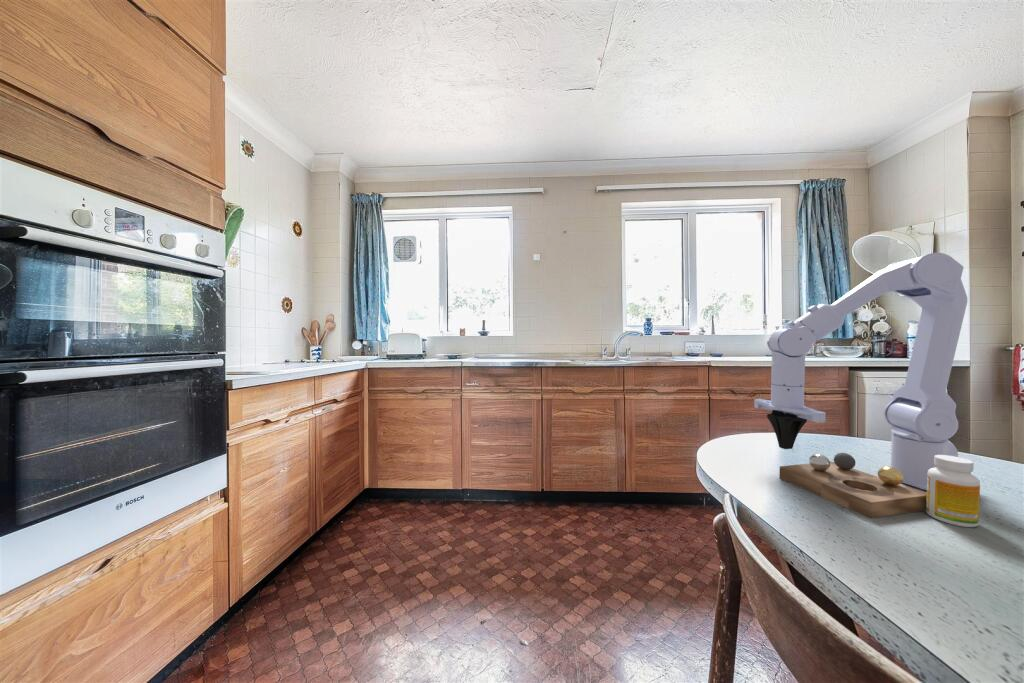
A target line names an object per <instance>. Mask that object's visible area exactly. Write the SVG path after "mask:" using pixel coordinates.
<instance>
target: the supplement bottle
mask: <svg viewBox="0 0 1024 683" xmlns="http://www.w3.org/2000/svg"><path fill="white" fill-rule="evenodd" d="M934 464H935V465H936V467H935V468H931V469H929V470H928V473H927V490H926V493H927V498H926V510H925V511H926V512H925V513H926V514H927V515H928V516H930V517H931V518H933V519H935V520H938V521H941V522H943V523H947V524H950V525H953V526H957V527H963V528H976V527H978V526H979V522H980V500H981V499H980V498H981V496H980V492H981V481H980V479H979V478H978V477H977V476H976V475H974V474H973V472H974V469H975V468H974V461H973V460H970V459H967V458H963V457H959V456H958V457H955V456H948V455H935V456H934Z"/></svg>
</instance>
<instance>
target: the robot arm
mask: <svg viewBox="0 0 1024 683" xmlns="http://www.w3.org/2000/svg"><path fill="white" fill-rule="evenodd" d="M964 269H965V268H964V265H962V264H961V263H960V262H958V261H957V260H955V259H954V258H953V257H952V256H950V255H949V254H946V253H944V252H943V253H942V252H931V253H927V254H924V255H921V256H917V257H913V258H910V259H906V260H905V259H904V260H898V261H895V262H892V263H891V264H889V265H888V266H886V267H885V268H881V269H879V270H877V271H876V272H875V273H873V274H872V275H871V276H869V277H868V278H866V279H864V281H862V282H860V284H858V285H856V286H855V287H854V288H853V289H851V290H849V291H848V292H847V293H845V294H844V295H843V296H841V297H840V298H838V299H836V300H835V301H834V302H833V303H832V304H826V303H820V304H817V305H811V306H810V307H808V308H807V311H808V312H805V313H804V314H803V315H801V316H800V317H798V318H796V319H795V320H794V321H793V320H790V321H788V322H786V327H787V328H779V329H777V330H775V331H774V332H773V333H771V335H770V336H769V338H768V340H767V341H766V345H767V347H768V349H769V350H770V351H771V370H770V371H771V372H770V373H771V376H770V378H771V379H770V381H771V382H770V400H769V399H764V398H754V400H753V402H754V404H753V406H754V407H753V408H756V409H762V410H763V409H764V410H765V411H766V410H767V411H771V412H770V413H766V417H767V419H768V421H769V422H770V424H771V426H772V428H773V430H774V433H775V436H776V440H777V443H778V447H779V448H780V449H783V450H792V449H793V448H794V445H795V442H796V439H797V436H798V434H799V433H800V431H801V429H802V428H803V427H804V426H805V425H806V423H807V422H808V421H812V422H813V423H819V424H820V423H826V416H827V415H826V414H827V413H826V412H825V411H820V410H817V409H814V408H811V407H807V406H805V382H806V381H805V376H806V354H808V353H809V352H810V350H811V349H812V346H813V345H814V344H815V343H817V342H819V341H820V340H821V339H823V338H825V337H826V336H828V335H830V334H831V333H833V332H835V331H836V330H838V329H839V328H841V327H842V326H844V324H845V318H846V316H848V315H849V314H851V313H853V312H854V311H856V310H858V309H860V308H862V307H863V306H865V305H868V304H869V303H870V302H871V301H873V300H876V299H877V298H878V297H880V296H882V295H884V294H885V293H889V292H890V293H891V292H895V293H897V294H900V295H902V296H904V297H906V298H909V299H910V300H912V301H913V302H915V303H916V304H917V305H918V306H919V307H921V313H920V317H919V322H918V325H917V331H916V334H915V339H914V342H913V347H912V352H911V356H910V361H909V364H908V369H907V373H906V377H905V382H904V384H903V385H902V386H901V387H900V388H898V389H897V390H895V391H894V392H893V394H892V395H893V396H892V398H891V400H890V401H889V402H888V403H887V404H886V406H885V407H884V408H883V418H884V420H885V421H886V423H888V425H890V428H891V429H890V430H891V444H890V445H891V447H890V448H891V450H890V467H894V468H896V469H898V470H899V471H900V472H901V473H902V475H903V482H902V483H901V484H905V485H909V486H910V487H911V486H912V487H914V488H918V489H921V490H922V491H923V490H924V491H927V473H928V470H929V469H931V468H935V467H936V465H935V464H934V456H935V455H948V456H955V457H959V452H958V448H956V446H955V445H954V443H953V442H951V441H950V440H949V439H951V438H952V437H953V436H954V435H955V434H956V433H957V432H958V429H959V420H958V419H957V415H956V409H957V404H956V402H955V401H954V399H953V398H952V397H951V396H950V395H949V394H948V393H947V389H948V384H949V380H950V375H951V372H952V367H953V364H954V363H953V362H954V359H955V356H956V351H957V347H958V342H959V337H960V335H961V330H962V327H963V322H964V319H965V314H966V308H967V305H968V294H967V293H966V289H965V286H964V284H963V280H962V275H963V272H964Z"/></svg>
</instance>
